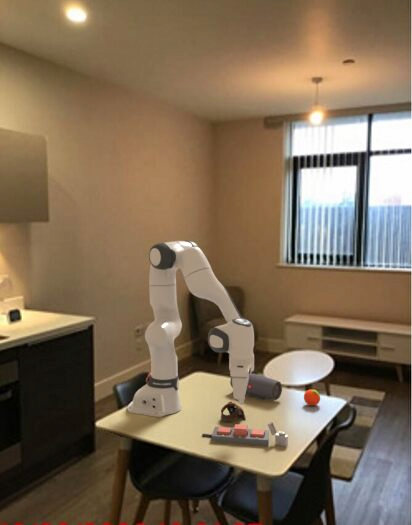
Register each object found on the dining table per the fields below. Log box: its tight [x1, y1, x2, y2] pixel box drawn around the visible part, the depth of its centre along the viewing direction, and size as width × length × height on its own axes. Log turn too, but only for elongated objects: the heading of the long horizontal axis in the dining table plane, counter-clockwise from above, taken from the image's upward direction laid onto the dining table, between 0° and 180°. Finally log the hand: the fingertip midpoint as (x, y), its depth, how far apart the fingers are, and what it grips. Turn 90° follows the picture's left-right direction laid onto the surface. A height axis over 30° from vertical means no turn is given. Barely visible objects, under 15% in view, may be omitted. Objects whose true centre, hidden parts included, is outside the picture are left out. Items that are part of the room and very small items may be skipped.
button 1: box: [218, 426, 232, 435], centre depth 176 cm, size 4×4×3 cm
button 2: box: [233, 423, 248, 436], centre depth 175 cm, size 4×4×3 cm
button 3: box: [251, 428, 264, 437], centre depth 174 cm, size 4×4×3 cm
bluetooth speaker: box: [230, 372, 283, 401], centre depth 220 cm, size 23×9×10 cm, turn 49°
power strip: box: [201, 426, 270, 447], centre depth 175 cm, size 24×8×3 cm, turn 81°
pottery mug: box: [220, 401, 247, 423], centre depth 193 cm, size 12×10×8 cm
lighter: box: [267, 421, 289, 447], centre depth 171 cm, size 7×2×8 cm, turn 61°
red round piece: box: [303, 388, 321, 407], centre depth 209 cm, size 8×7×7 cm
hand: (241, 402), depth 174 cm, fingers closed
